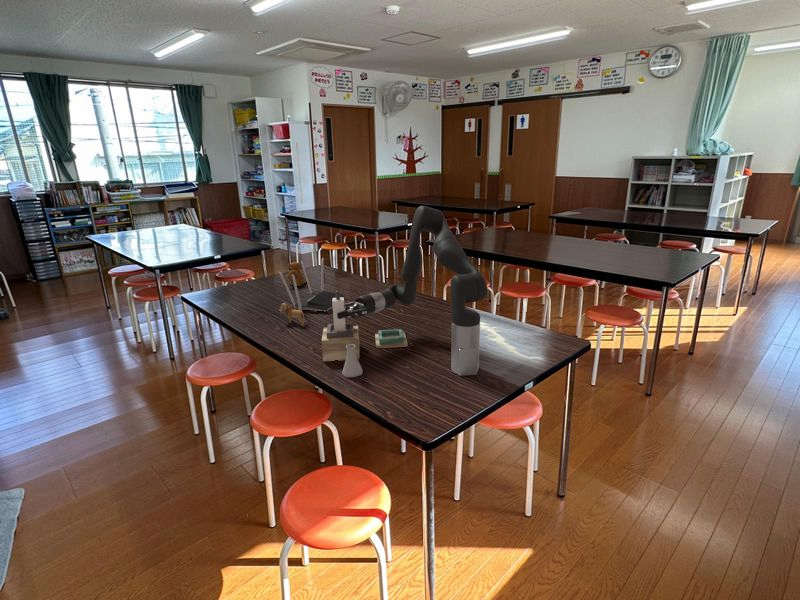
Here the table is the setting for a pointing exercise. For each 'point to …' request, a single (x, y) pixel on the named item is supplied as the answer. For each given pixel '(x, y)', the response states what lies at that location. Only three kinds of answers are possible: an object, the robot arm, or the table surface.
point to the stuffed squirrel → (296, 274)
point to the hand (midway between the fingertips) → (333, 314)
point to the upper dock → (339, 342)
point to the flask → (351, 363)
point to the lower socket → (390, 338)
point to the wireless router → (312, 294)
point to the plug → (338, 307)
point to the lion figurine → (292, 313)
